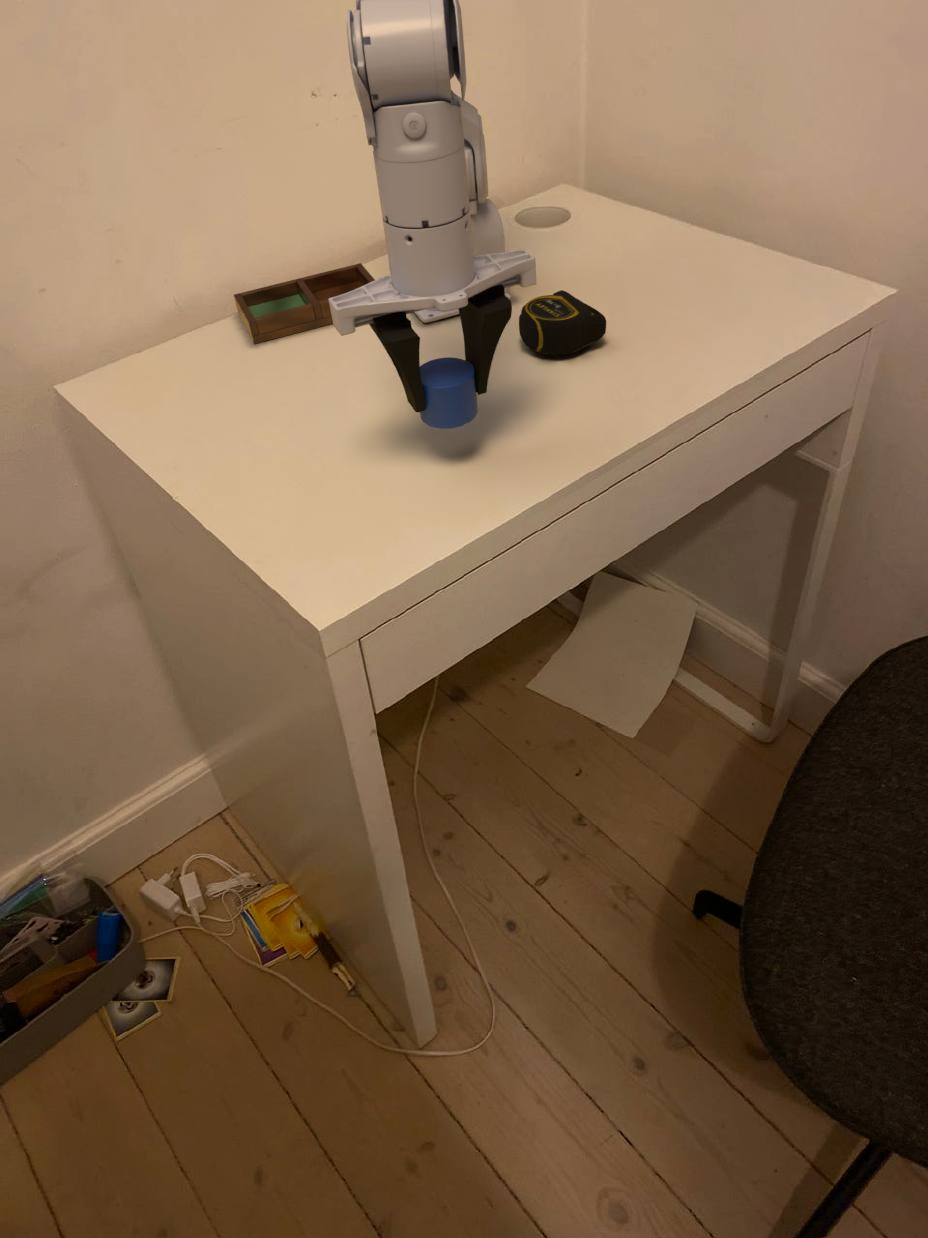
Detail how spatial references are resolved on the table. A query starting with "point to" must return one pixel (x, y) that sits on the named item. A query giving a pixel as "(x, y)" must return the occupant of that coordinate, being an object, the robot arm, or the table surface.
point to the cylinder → (448, 393)
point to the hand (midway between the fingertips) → (446, 396)
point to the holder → (296, 302)
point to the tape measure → (560, 324)
